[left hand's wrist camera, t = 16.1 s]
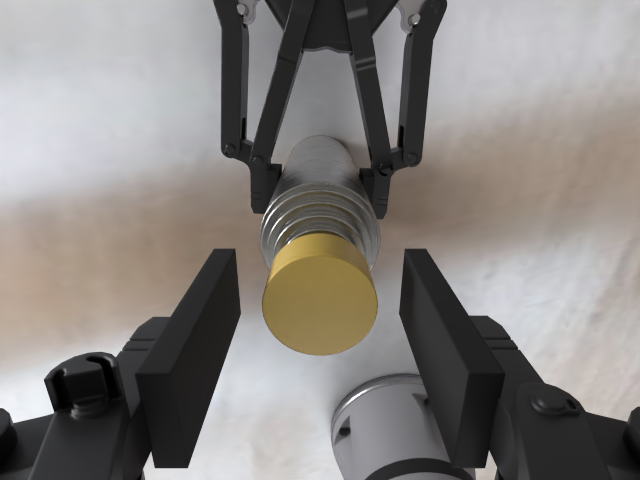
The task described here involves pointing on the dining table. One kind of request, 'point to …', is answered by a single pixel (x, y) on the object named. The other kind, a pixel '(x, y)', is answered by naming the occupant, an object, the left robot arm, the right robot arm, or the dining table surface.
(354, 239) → the bottle
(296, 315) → the cap
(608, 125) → the dining table surface
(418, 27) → the right robot arm
